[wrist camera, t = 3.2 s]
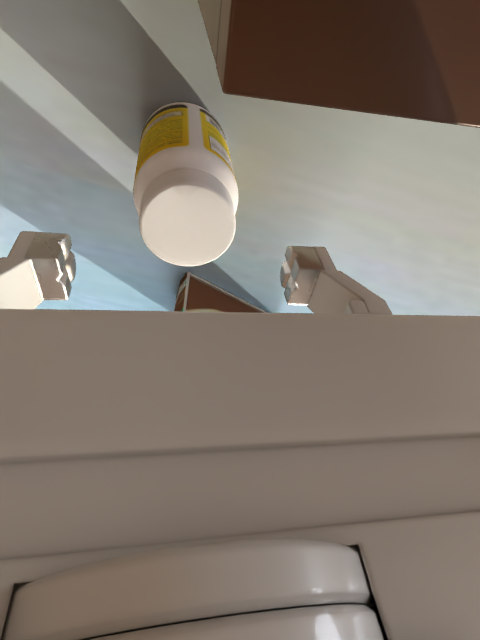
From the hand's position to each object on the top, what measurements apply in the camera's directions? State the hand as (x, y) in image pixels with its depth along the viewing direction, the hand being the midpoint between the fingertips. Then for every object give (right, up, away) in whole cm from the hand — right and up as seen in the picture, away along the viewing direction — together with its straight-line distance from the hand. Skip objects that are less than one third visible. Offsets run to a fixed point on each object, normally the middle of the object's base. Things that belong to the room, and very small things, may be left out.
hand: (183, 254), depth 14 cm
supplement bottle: (-1, +7, +7) cm, 10 cm away
